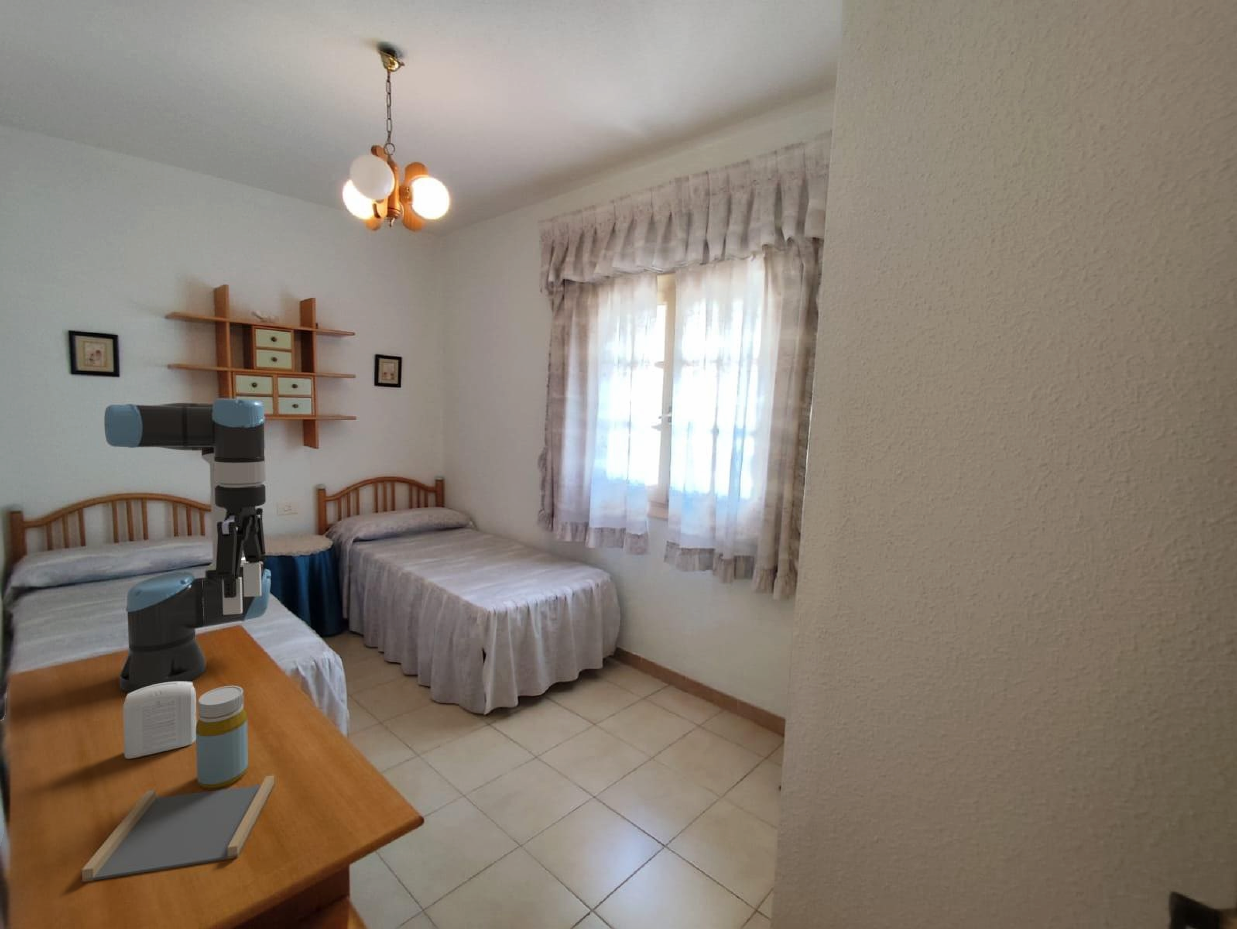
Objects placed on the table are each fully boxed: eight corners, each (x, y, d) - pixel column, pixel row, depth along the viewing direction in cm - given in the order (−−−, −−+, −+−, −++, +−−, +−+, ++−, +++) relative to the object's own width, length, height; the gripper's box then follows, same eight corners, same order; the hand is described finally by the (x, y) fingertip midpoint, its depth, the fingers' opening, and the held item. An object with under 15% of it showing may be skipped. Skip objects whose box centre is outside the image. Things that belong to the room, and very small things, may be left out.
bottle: (188, 783, 90) (185, 700, 88) (231, 759, 96) (229, 680, 95) (214, 796, 87) (212, 710, 86) (257, 770, 94) (255, 690, 92)
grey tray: (147, 801, 85) (146, 791, 85) (274, 785, 90) (274, 775, 90) (82, 882, 71) (81, 869, 71) (237, 857, 76) (237, 846, 76)
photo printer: (198, 733, 103) (196, 672, 102) (195, 745, 99) (193, 683, 98) (127, 749, 97) (124, 686, 96) (122, 763, 94) (118, 697, 92)
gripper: (240, 475, 105) (243, 586, 107) (186, 493, 85) (190, 628, 87) (283, 476, 107) (285, 584, 109) (240, 493, 87) (243, 625, 89)
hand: (243, 604), depth 98 cm, fingers open, 8 cm apart
